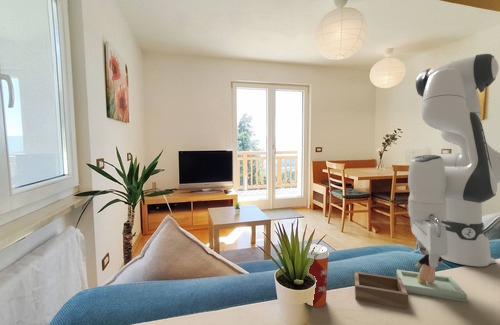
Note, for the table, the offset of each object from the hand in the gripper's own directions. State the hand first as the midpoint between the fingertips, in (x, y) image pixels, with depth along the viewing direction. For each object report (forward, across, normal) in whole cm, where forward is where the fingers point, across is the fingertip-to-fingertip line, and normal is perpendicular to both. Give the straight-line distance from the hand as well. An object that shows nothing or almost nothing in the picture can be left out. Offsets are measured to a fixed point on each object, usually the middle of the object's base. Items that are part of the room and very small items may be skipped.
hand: (427, 259), depth 69 cm
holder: (+8, -9, +14) cm, 18 cm away
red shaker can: (+8, -18, +30) cm, 36 cm away
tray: (+8, 0, 0) cm, 8 cm away
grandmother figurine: (+7, +1, 0) cm, 7 cm away
